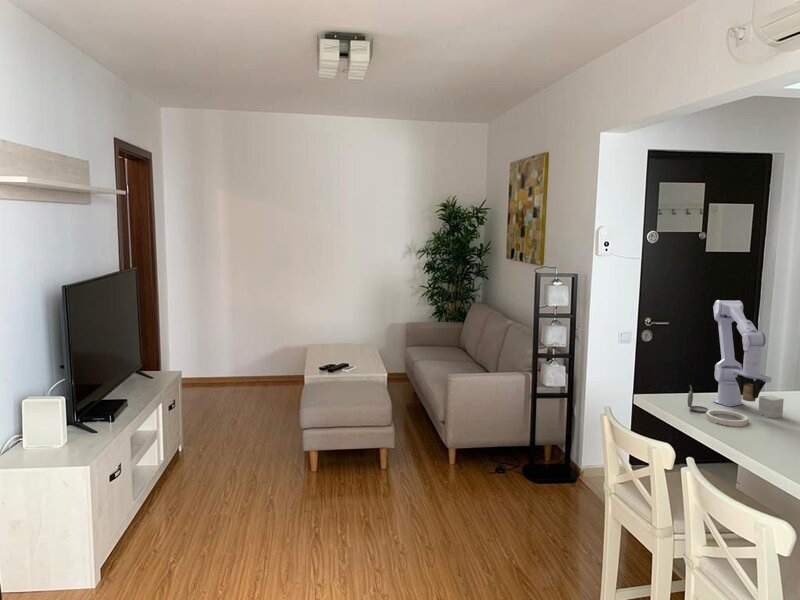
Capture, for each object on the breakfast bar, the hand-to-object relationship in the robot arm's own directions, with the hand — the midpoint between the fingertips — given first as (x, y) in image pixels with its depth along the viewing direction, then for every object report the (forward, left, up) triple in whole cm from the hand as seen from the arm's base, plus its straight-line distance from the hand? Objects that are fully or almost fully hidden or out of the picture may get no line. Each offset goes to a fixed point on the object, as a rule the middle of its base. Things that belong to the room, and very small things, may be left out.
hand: (749, 396), depth 231 cm
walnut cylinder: (0, 0, -1) cm, 1 cm away
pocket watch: (+10, -15, -8) cm, 20 cm away
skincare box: (-10, +3, -8) cm, 13 cm away
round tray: (+12, -1, -8) cm, 15 cm away
